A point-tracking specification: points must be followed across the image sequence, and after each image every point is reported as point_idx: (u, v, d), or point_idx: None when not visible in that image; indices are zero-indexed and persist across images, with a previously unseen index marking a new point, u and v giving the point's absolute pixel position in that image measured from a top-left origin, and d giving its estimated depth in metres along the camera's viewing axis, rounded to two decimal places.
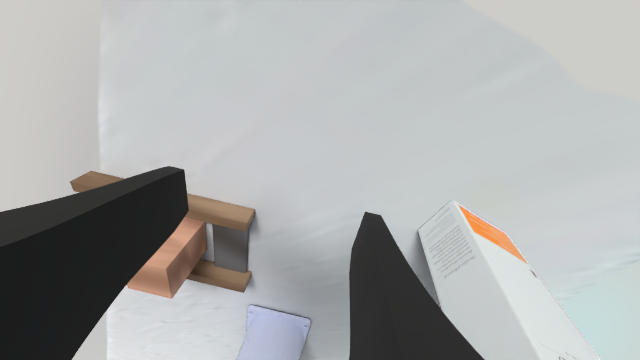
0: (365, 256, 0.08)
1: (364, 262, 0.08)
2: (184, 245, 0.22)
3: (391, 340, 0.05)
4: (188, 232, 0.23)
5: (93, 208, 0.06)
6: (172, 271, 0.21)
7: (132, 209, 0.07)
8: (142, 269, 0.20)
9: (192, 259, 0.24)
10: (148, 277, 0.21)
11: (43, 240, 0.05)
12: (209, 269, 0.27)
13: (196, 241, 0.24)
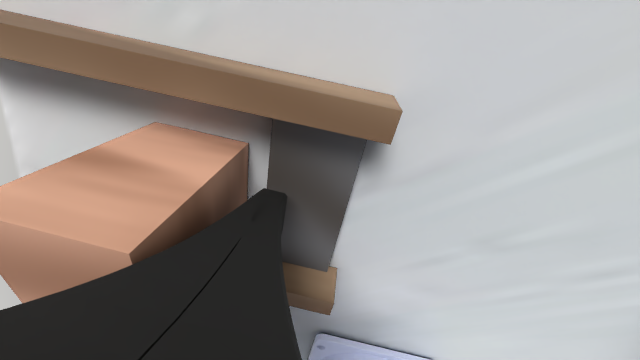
0: None
1: None
2: (200, 187, 0.07)
3: (206, 296, 0.05)
4: (209, 160, 0.09)
5: (236, 242, 0.06)
6: None
7: None
8: (48, 255, 0.06)
9: None
10: (76, 283, 0.06)
11: None
12: None
13: (228, 190, 0.09)
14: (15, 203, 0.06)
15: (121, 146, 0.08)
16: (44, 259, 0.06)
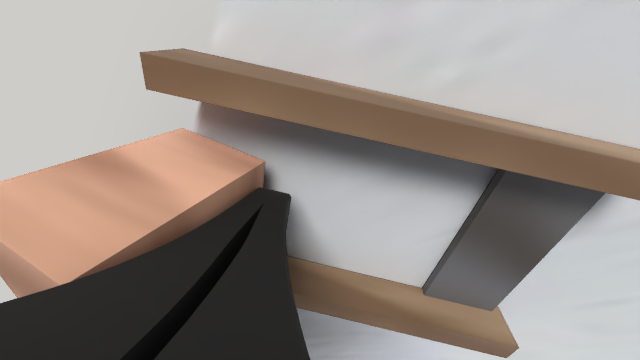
0: None
1: None
2: (187, 210, 0.06)
3: (213, 298, 0.05)
4: (213, 176, 0.08)
5: (229, 240, 0.06)
6: None
7: (246, 236, 0.07)
8: (12, 263, 0.05)
9: None
10: None
11: (205, 279, 0.05)
12: (419, 303, 0.12)
13: None
14: None
15: (134, 151, 0.08)
16: (11, 265, 0.05)
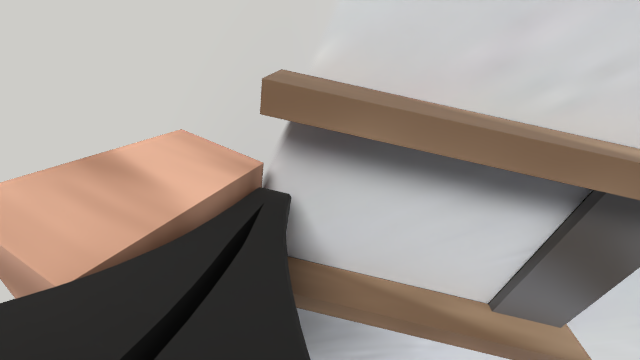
0: None
1: None
2: (185, 211, 0.06)
3: (213, 298, 0.05)
4: (211, 178, 0.08)
5: (229, 240, 0.06)
6: None
7: (246, 236, 0.07)
8: (9, 265, 0.05)
9: None
10: None
11: (205, 279, 0.05)
12: (490, 320, 0.12)
13: None
14: None
15: (133, 152, 0.08)
16: (8, 267, 0.05)
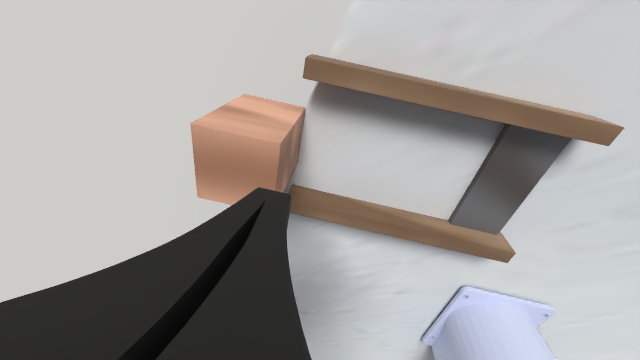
0: None
1: None
2: (293, 125, 0.13)
3: (214, 297, 0.05)
4: (289, 114, 0.14)
5: (228, 240, 0.06)
6: (281, 159, 0.12)
7: (246, 236, 0.07)
8: (233, 149, 0.11)
9: (290, 164, 0.15)
10: (240, 167, 0.12)
11: (204, 279, 0.05)
12: (448, 228, 0.18)
13: (297, 134, 0.15)
14: (215, 124, 0.11)
15: (238, 105, 0.14)
16: (229, 152, 0.11)
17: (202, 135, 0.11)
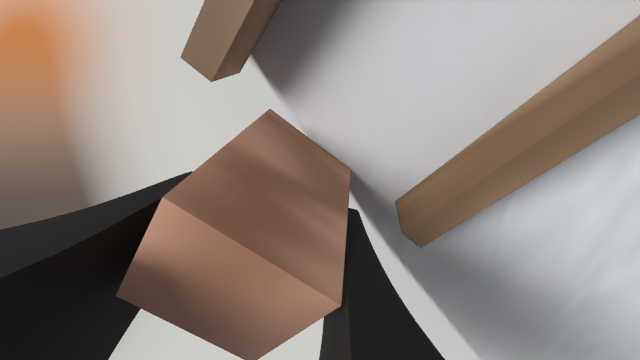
0: None
1: None
2: (230, 142, 0.07)
3: (344, 329, 0.05)
4: None
5: (127, 216, 0.06)
6: (231, 210, 0.05)
7: None
8: (167, 275, 0.05)
9: (316, 186, 0.08)
10: (209, 287, 0.05)
11: (83, 250, 0.05)
12: None
13: (282, 145, 0.08)
14: None
15: None
16: (173, 283, 0.06)
17: (137, 295, 0.06)
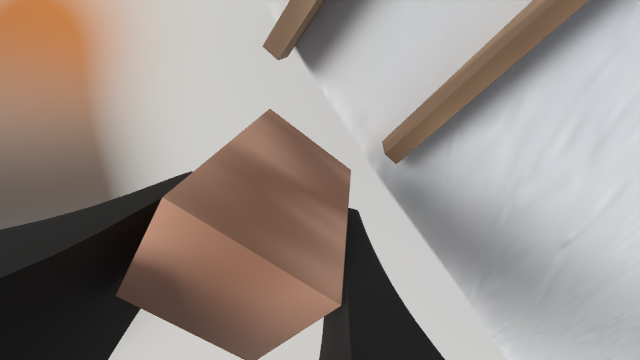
0: None
1: None
2: (229, 142, 0.07)
3: (344, 329, 0.05)
4: None
5: (127, 216, 0.06)
6: (231, 211, 0.05)
7: None
8: (167, 275, 0.05)
9: (316, 186, 0.08)
10: (209, 287, 0.05)
11: (83, 250, 0.05)
12: None
13: (282, 145, 0.08)
14: None
15: None
16: (173, 283, 0.06)
17: (137, 295, 0.06)
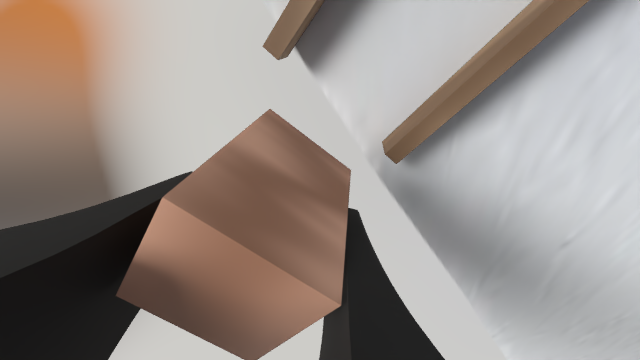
0: None
1: None
2: (229, 142, 0.07)
3: (344, 329, 0.05)
4: None
5: (127, 216, 0.06)
6: (231, 211, 0.05)
7: None
8: (167, 275, 0.05)
9: (316, 186, 0.08)
10: (209, 287, 0.05)
11: (83, 250, 0.05)
12: None
13: (282, 145, 0.08)
14: None
15: None
16: (173, 283, 0.06)
17: (137, 295, 0.06)
